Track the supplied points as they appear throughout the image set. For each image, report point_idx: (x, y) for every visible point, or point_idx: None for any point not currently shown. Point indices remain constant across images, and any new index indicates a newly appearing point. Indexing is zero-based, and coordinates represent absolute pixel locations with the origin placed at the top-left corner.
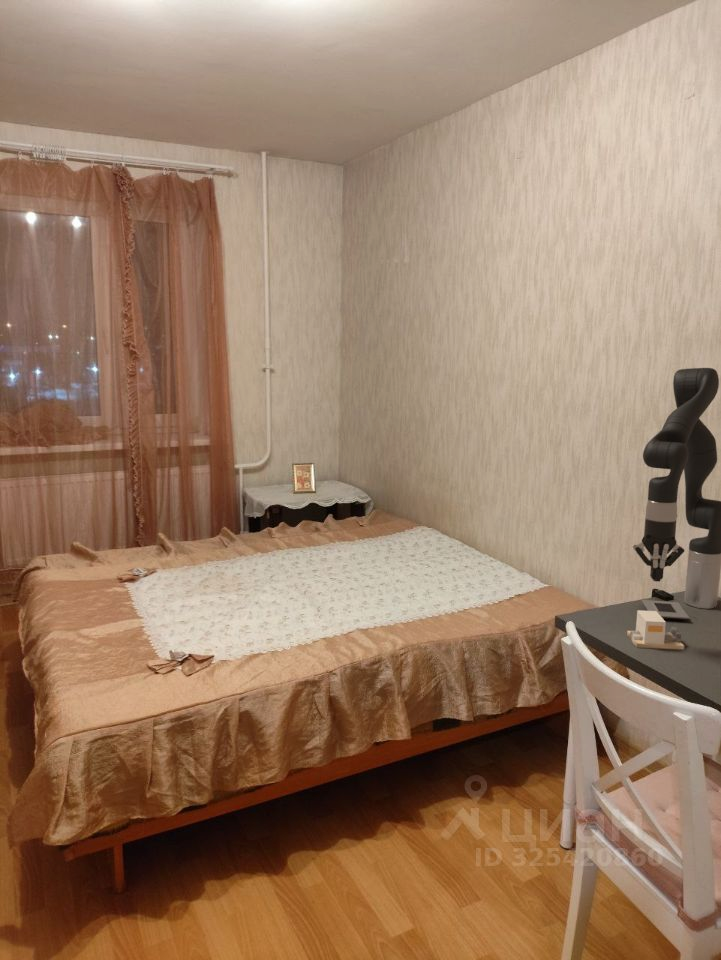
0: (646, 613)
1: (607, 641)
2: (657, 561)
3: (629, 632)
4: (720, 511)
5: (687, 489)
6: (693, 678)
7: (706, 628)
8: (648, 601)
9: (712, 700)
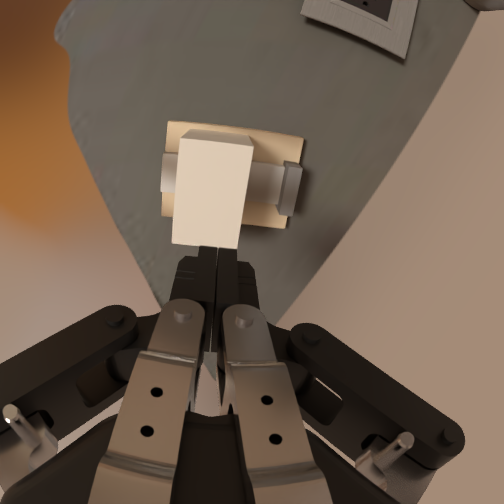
0: (202, 171)
1: (101, 176)
2: (194, 398)
3: (168, 135)
4: None
5: None
6: None
7: (418, 101)
8: None
9: None
